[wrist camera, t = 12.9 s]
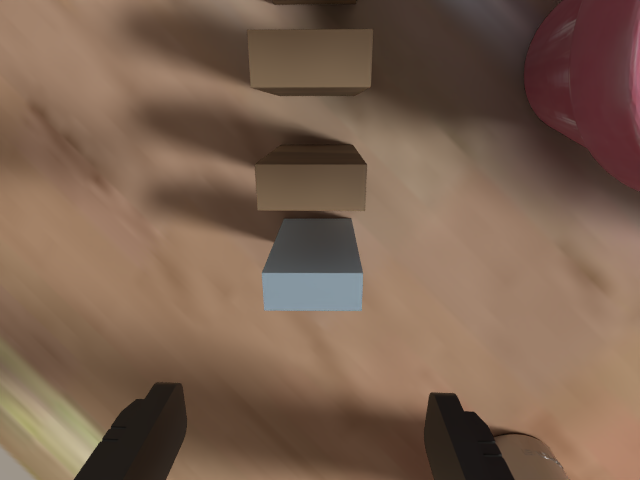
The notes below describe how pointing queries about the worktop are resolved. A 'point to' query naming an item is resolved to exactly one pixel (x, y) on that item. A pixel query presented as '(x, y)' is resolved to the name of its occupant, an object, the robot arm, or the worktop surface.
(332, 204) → the domino
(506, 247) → the worktop surface
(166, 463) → the robot arm
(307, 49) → the domino
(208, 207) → the worktop surface
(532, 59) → the plant pot
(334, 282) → the domino
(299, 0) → the domino
